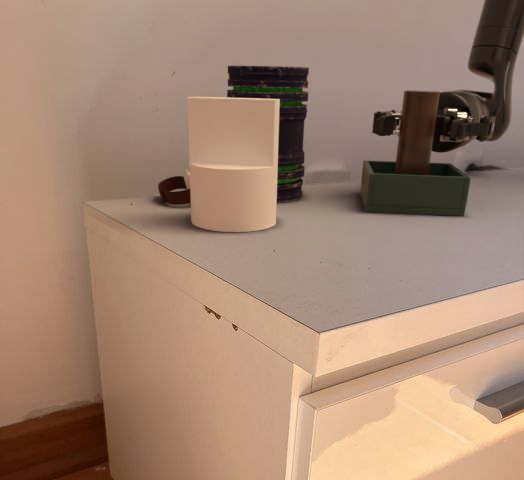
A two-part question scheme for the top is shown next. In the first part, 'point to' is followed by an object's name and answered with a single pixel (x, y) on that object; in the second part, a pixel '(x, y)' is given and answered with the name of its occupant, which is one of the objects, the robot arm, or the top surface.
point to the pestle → (416, 132)
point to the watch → (174, 184)
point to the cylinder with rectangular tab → (233, 162)
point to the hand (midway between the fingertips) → (416, 128)
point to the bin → (414, 190)
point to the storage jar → (290, 116)
